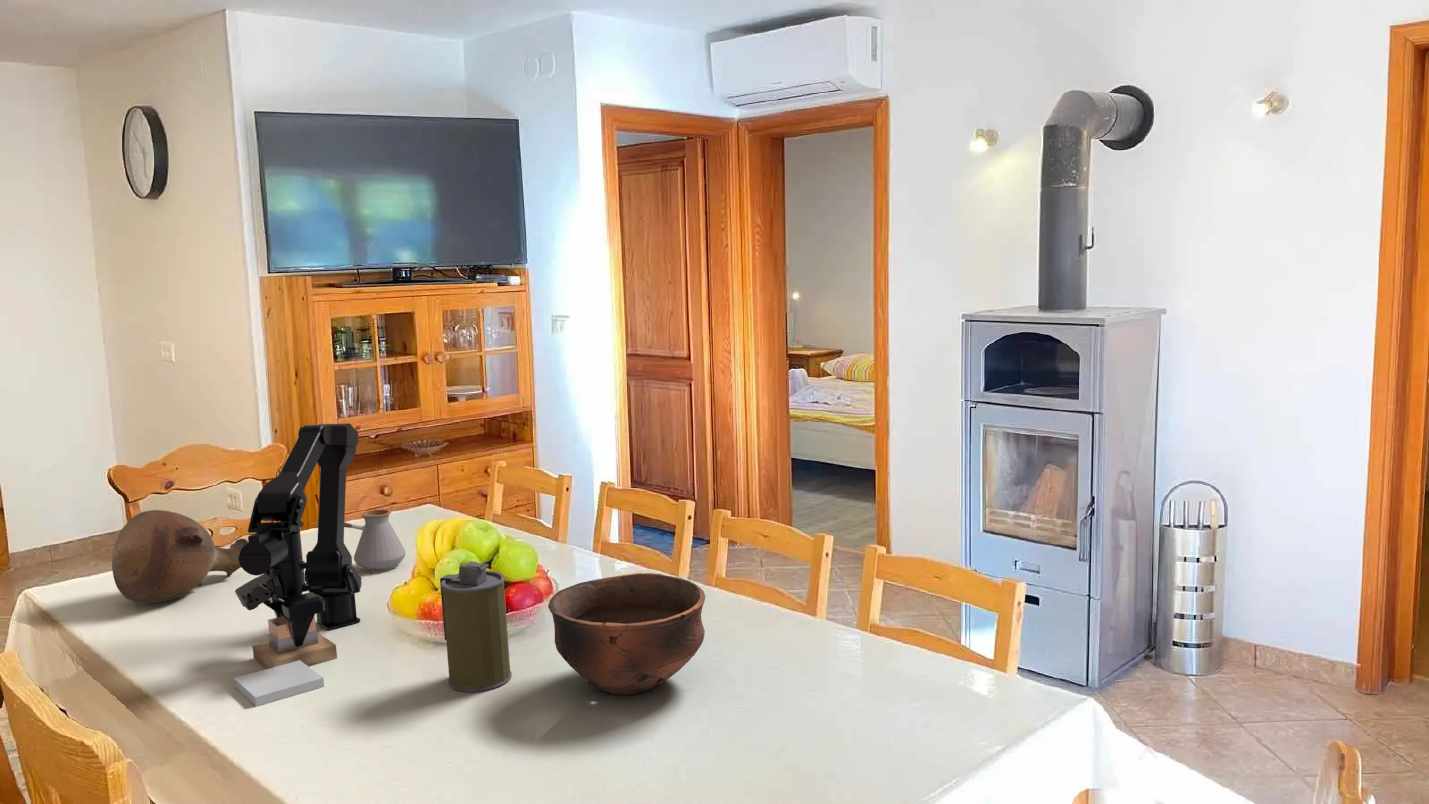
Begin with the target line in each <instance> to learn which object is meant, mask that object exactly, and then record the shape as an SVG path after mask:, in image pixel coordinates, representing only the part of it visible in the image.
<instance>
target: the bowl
mask: <svg viewBox="0 0 1429 804" xmlns="http://www.w3.org/2000/svg"><path fill="white" fill-rule="evenodd" d="M706 598H707V595H706V594H705V592H704V590H703V589H702V588H701V587H700V586H699V585H698V584H696V583H695V582H692V581H691V580H688V579H684V578H681V577H678V576H671V575H666V574H663V573H653V572H652V573H651V572H643V573H641V572H637V573H636V572H635V573H628V574H622V575H617V576H608V577H604V578H598V579H597V578H596V579H591V580H587V581H583V582H579V583H576V584H573V585H570V586H568V587H566V588H563V589H561V590H558V591H557V592H556V593H555V594H553V596H552V597H551V598H550V599H549V601H548V607H547V608H548V610H549V612H550V613H551V615H552V621H553V624H554V626H553V627H554V628H553V629H554V645H555V648H556V651H557V652H558V654H560V656H561V658H562V659H563V660H564V661H565V662H566V663H567V664H568V666H569V667H570V668H572V670H573V671H575V672H576V673H577V674H578V675H579V676H580V677H582V678H583V679H584V680H585V681H586V682H588V684H590V686H591V687H593V688H594V689H596V690H597V691H599V692H602V693H609V694H612V695H618V696H625V695H626V696H629V695H636V694H639V693H641V692H647V691H648V690H650V689H653V688H654V687H657V686H658V685H660V684H662V683H664V682H665V681H667V680H668V679H670V678H671V677H672V676H674V675H676V673H678V672H679V671H680V670H681V669H682V668H683V667H684V666H686V664H687V663H689V661H690V660H691V659H692V657H694V656H695V655H696V653H697V652H698V650H699V649H700V647H701V646H702V645H703V642H704V638H705V633H706V632H705V631H706V630H705V628H704V625H703V619H702V613H703V607H704V604H705V601H706Z"/></svg>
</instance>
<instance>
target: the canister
mask: <svg viewBox="0 0 1429 804" xmlns="http://www.w3.org/2000/svg"><path fill="white" fill-rule="evenodd" d="M489 567H490V566H489V564H488V563H485V562H477V561H474V560H473V561H471V560H470V561H468V562H466V563H465V564H462V565H461V566H459V567H458V569H459V570H458V573H455V574H449V573H448V574H445V575H444V576H441V578H439V581H440V583H439V584H440V585H439V586H440V594H441V596H440V597H441V609H442V621H443V633H444V634H443V635H444V636H443V637H444V641H446V642H445V643H446V653H447V667H448V678H449V679H448V681H447V682H448V684H447V685H448V686H449V687H450V688H451V689H453V690H455V691H458V692H463V693H478V692H479V693H480V692H486V691H489V690H494V689H497V688H500V687H501V686H503V685H506V684H508V682H509V681H510V680H511V679H512V675H513V674H512V671H511V662H510V661H511V660H510V651H509V650H510V649H509V636H508V623H507V622H508V621H507V608H506V607H507V606H506V595H505V593H506V592H505V580H506V576H505V575H504V574H503V573H501V572H498V571H494V570H493V571H492V570H486V569H488V568H489Z"/></svg>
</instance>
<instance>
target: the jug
mask: <svg viewBox="0 0 1429 804" xmlns="http://www.w3.org/2000/svg"><path fill="white" fill-rule="evenodd" d="M248 543H249V542H248V539H245V538H239V539H236V540H235V542H234V543H231V545H230V546H229V548H224V547H217V546H215V543H214V540H213V538H212V535H211V534H210V533H209V532H208V529H206V528H204V526H203V525H201V524H200V523H199V522H198V521H196V520H194V519H192V518H191V517H188V516H186V515H183V514H181V513H177V512H175V511H174V512H173V511H170V510H163V509H162V510H161V509H160V510H159V509H155V510H154V509H153V510H144V511H141V512H139V513H138V514H135V515H134V516H132V517H131V518H130V519H129V520H128V521H127V522H126V524H125V525H124V526H123V527H122V529H121V530H120V531H119V533H118V535H117V538H116V540H115V543H114V544H115V545H114V547H113V550H112V552H111V553H112V558H111V571H112V577H113V580H114V583H115V586H116V588H117V590H118V591H119V592H120V593H121V595H122V596H123V597H124V598H126V599H127V600H129V601H131V602H135V603H163V602H168V601H172V600H176V599H179V598H180V597H183V596H184V595H187V593H190V592H191V591H192V590H194V588H196V587H202V586H203V584H204V582H203V581H204V580H205V579H206V578H207V576H208V574H209V573H210V572H225V573H226V576H227V577H229V576H232V575H233V573H235V572H236V571H238V570H239V569H241V568H242V567H241V565H240V563H239V554H240V551H241V549H242V548H243V547H244V546H245V545H246V544H248Z"/></svg>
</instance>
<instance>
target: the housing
mask: <svg viewBox="0 0 1429 804" xmlns="http://www.w3.org/2000/svg"><path fill="white" fill-rule="evenodd" d="M315 618H316V617H315V616H314V618H313V620H312V622H311V624H310V627H309V629H308V632H307V635H306V637H305V640H304V642H303V645H302V646H299V647H296V646H295V643H294V639H293V636H292V632H291V628H290V625H289V621H288V620H287V619H285V618H284V617H282V616H281V617H274V618H270V619H267V625H268V633H267V638H268V639H267V640H268V641H269V647H270V648H272V649H273V650H274V651H275V652H277V653H278V654H281V653H285V652H289V651H292V650H296V649H300V648H304V647H307V646H311V645H315V644H318V633H319V632H318V630H317V627H316V619H315Z"/></svg>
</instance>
